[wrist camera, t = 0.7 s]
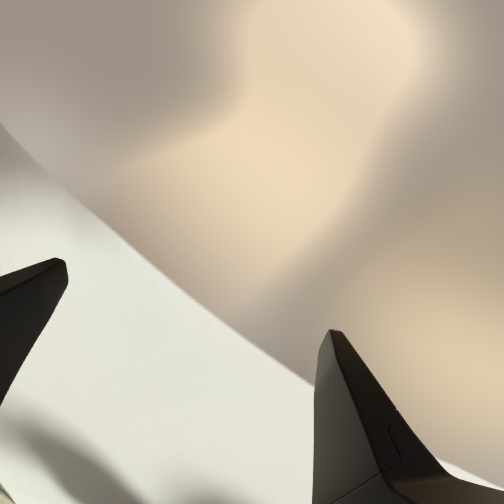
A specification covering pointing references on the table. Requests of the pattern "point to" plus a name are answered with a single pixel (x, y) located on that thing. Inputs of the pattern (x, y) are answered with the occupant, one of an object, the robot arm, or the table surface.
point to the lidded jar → (5, 499)
